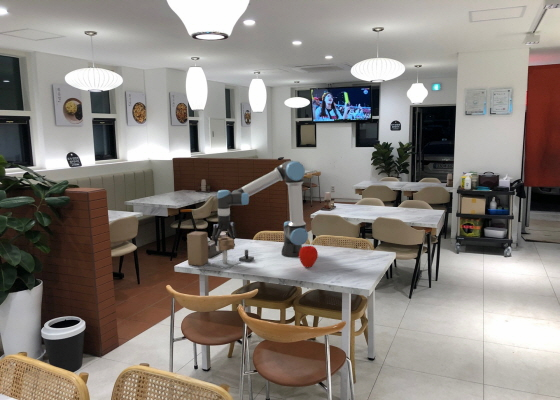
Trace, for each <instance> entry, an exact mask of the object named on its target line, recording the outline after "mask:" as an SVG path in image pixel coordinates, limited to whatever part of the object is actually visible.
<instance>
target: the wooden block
mask: <svg viewBox="0 0 560 400" xmlns="http://www.w3.org/2000/svg"><path fill="white" fill-rule="evenodd" d="M208 235H209V234H208V232H207V231H196V230H195V231H191V232H189V233H187V234H186V238H187V239H186V243H187V247H186V248H187V264H188V265H189V266H190V265H191V266H196V267H197V266H199V267H202V266H204V265H205V264H207V263H209V240H208V239H209V237H208Z"/></svg>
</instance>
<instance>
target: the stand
mask: <svg viewBox="0 0 560 400" xmlns="http://www.w3.org/2000/svg"><path fill="white" fill-rule="evenodd" d="M254 260H255V257H254V256H250V255H249V249H244V256H243V255H242V256H241V257H239V258H238V262H244V263H250V262H253V261H254Z"/></svg>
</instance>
